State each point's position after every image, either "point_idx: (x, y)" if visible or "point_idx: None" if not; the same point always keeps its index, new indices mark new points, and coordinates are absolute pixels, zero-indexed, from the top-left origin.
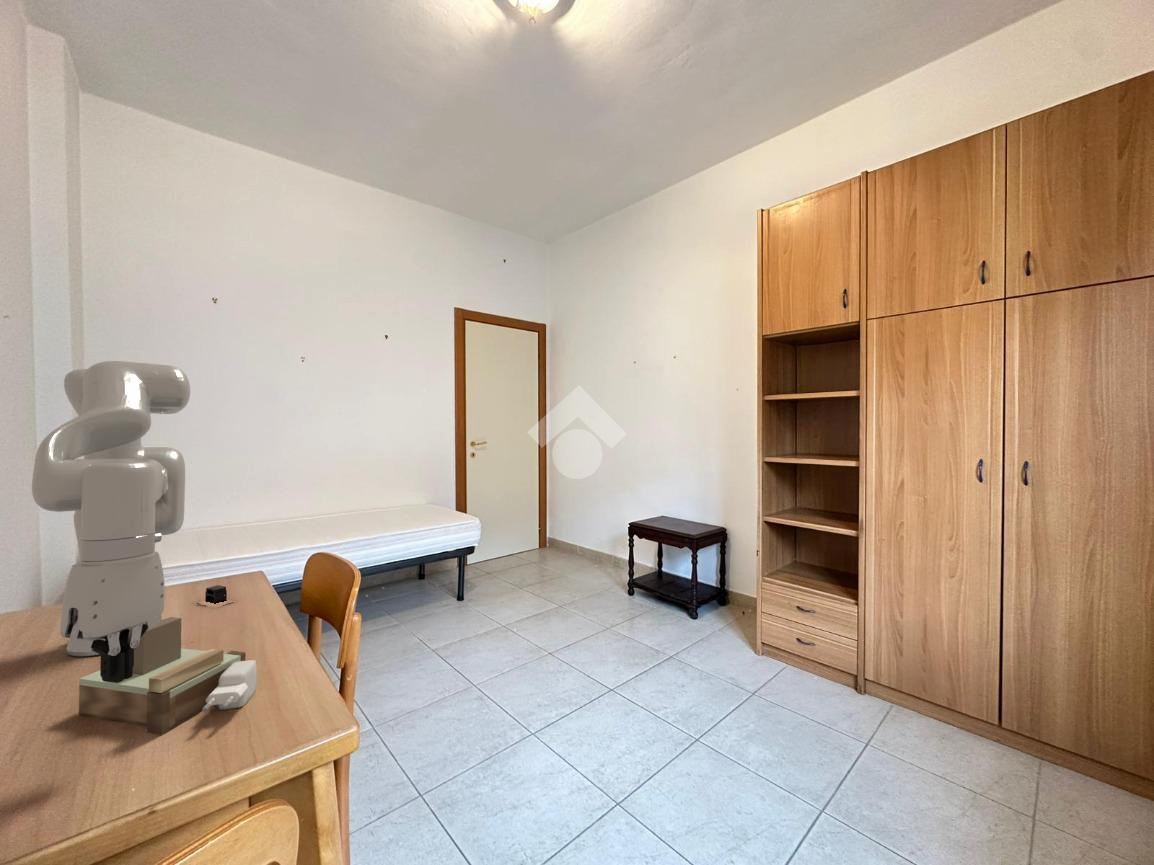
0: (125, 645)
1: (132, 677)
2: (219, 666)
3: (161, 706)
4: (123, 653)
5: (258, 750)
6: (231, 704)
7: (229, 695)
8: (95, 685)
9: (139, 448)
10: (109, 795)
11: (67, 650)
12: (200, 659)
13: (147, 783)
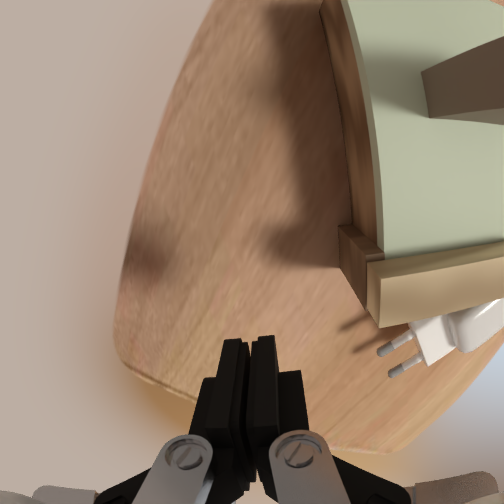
0: (270, 496)
1: (410, 100)
2: None
3: (356, 290)
4: (246, 487)
5: (339, 426)
6: None
7: (422, 355)
8: (348, 21)
9: None
10: (205, 352)
11: (39, 490)
12: (488, 293)
13: None
